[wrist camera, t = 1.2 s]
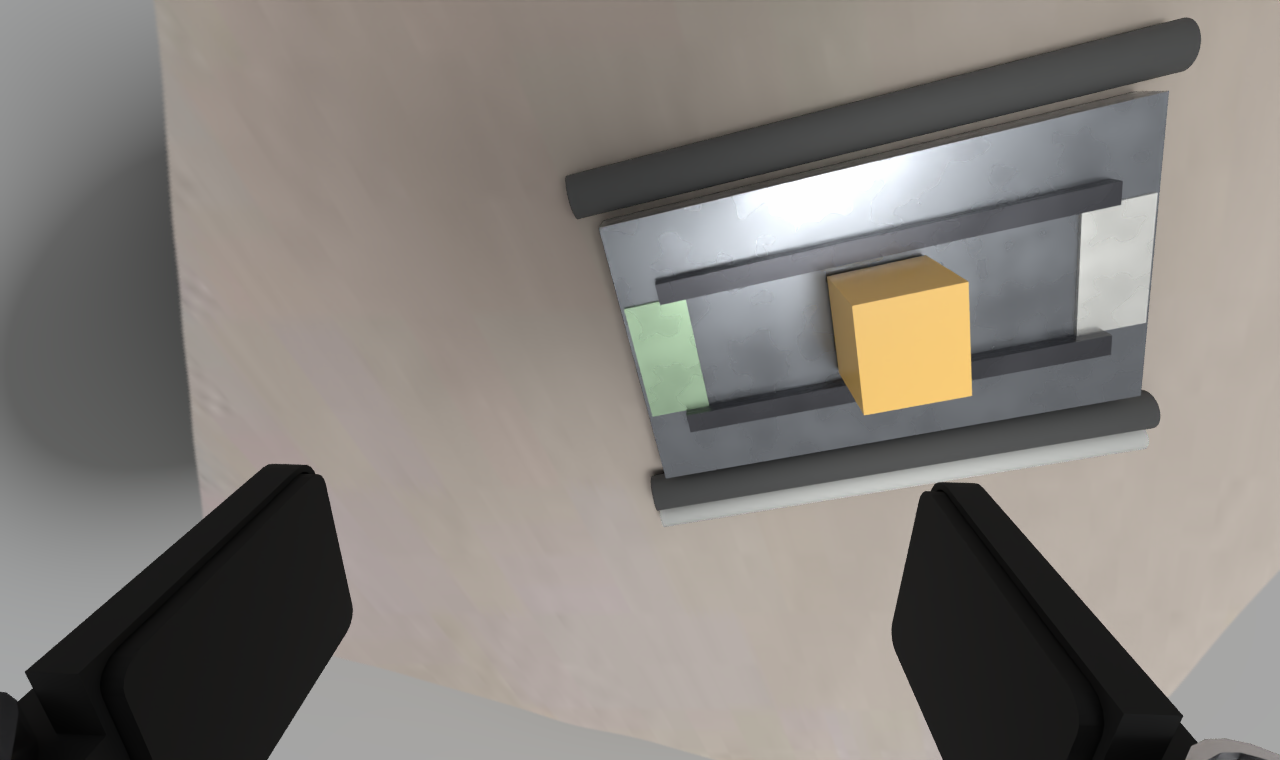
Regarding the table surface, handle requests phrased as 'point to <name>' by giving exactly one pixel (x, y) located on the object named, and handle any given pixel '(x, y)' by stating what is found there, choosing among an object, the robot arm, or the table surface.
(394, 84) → the table surface
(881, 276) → the toggle
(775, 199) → the railed metal tray
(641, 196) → the pair of dark bars
